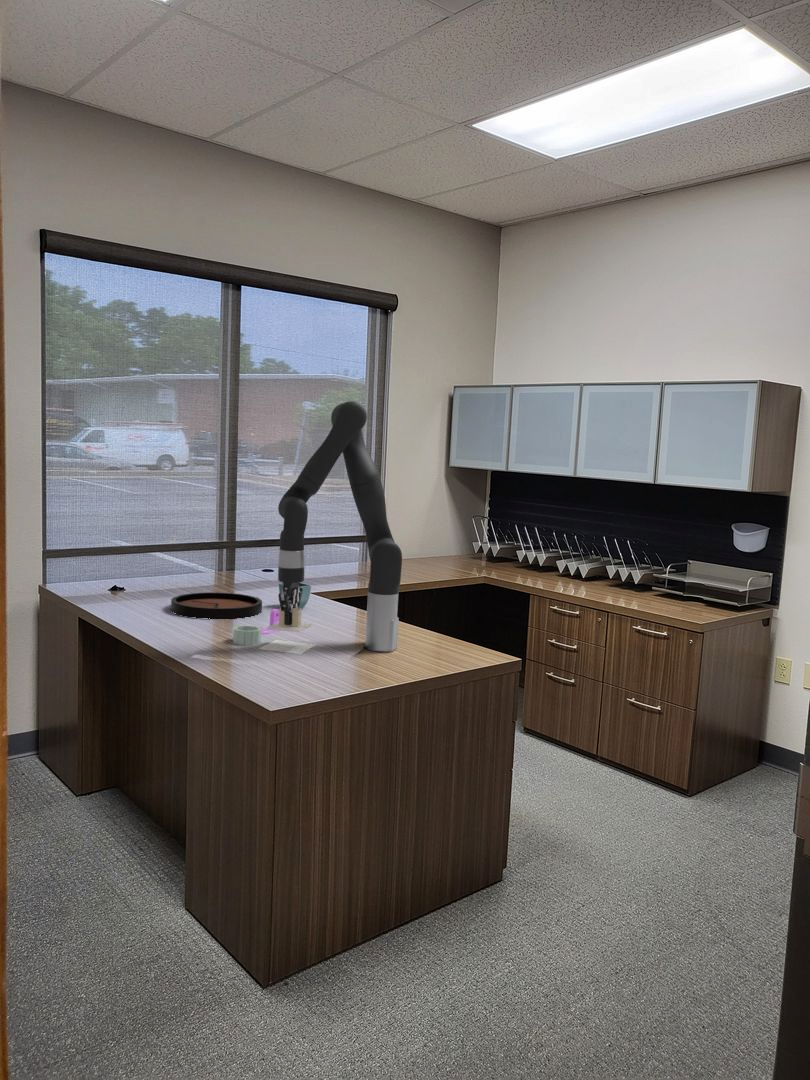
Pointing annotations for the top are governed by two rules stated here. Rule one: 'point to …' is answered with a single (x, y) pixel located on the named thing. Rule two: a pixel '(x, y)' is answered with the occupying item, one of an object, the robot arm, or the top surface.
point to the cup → (247, 635)
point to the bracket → (272, 621)
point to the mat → (287, 646)
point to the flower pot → (304, 593)
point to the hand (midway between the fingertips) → (290, 623)
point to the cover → (296, 622)
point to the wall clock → (216, 605)
